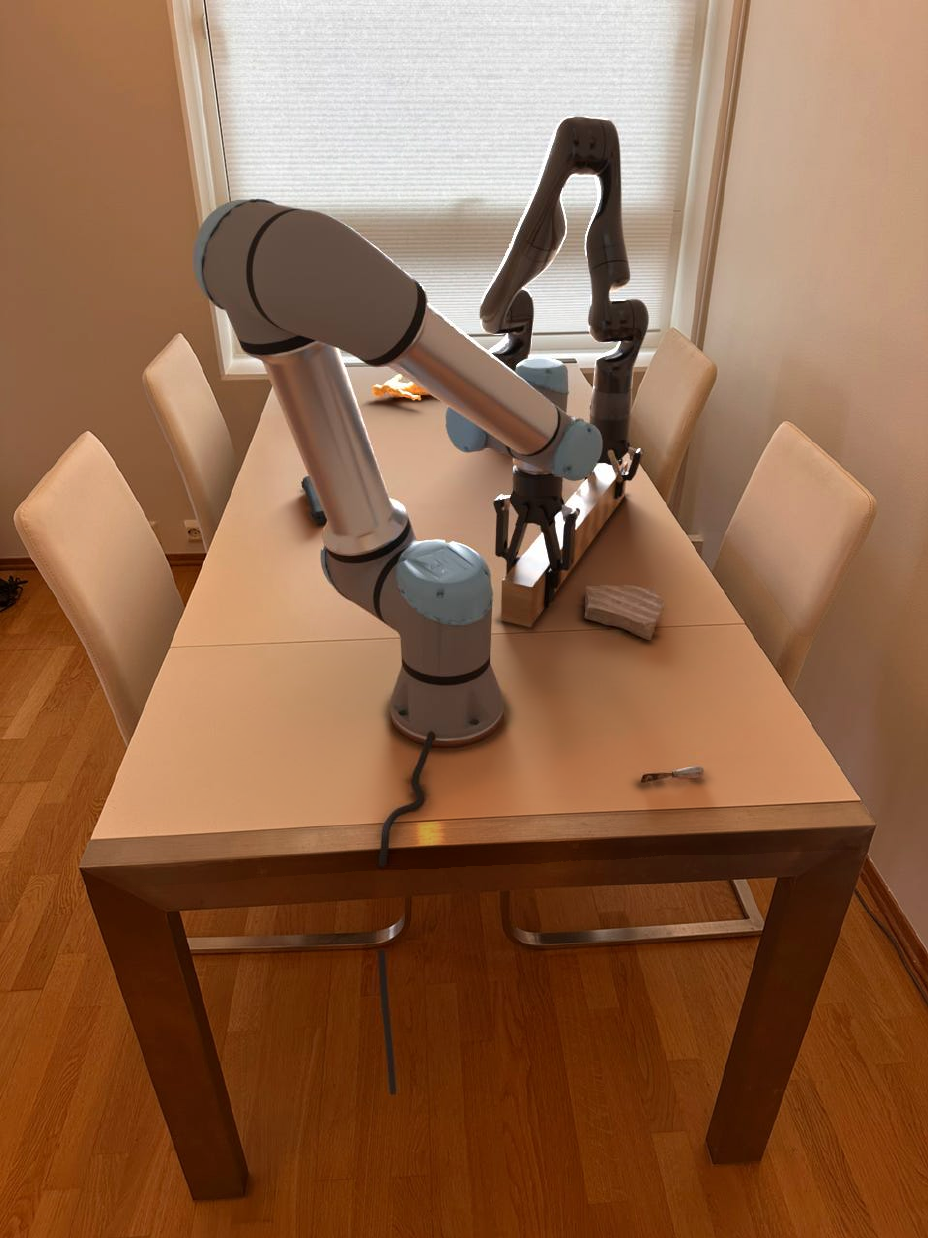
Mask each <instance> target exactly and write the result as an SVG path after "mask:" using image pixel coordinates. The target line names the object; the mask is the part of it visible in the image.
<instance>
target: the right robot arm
mask: <svg viewBox="0 0 928 1238" xmlns="http://www.w3.org/2000/svg"><path fill="white" fill-rule="evenodd" d="M620 144H621V143H620V137H619V133H618V129H617V127H616V125H615V123H613V121H612V120H610V119H607V118H603V117H589V116H567V117H564V118H563V119H562V120H560V122H559V123H558V124H557V126H556V128H555V130H554V131H553V134H552V136H551V139H550V142H549V145H548V148H547V151H546V154H545V157H544V160H543V163H542V167H541V169H540V173H539V176H538V179H537V182H536V184H535V187H534V190H533V191H532V195H531V196H530V200H529V201H528V204H527V206H526V207H525V210H524V213H523V215H522V217H521V218H520V221H519V223H518V226H517V228H516V230H515V232H514V235H513V238H512V241H511V243H510V244H509V248H508V249H507V251H506V253H505V256H504V258H503V260H502V262H501V264H500V266H499V268H498V270H497V272H496V273H495V276H493V279H492V281H491V282H490V284H489V286H488V287H487V289H486V291H485V292H484V295H483V297H482V299H481V302H480V305H479V307H480V308H479V314H478V315H479V322H480V326H481V328H482V330H483V331H485V332H486V333H487V334H489V335H495V336H498V335H504V338H502V340H500V342H498V343H497V344H495V345H494V346H493V347H491V348H489V350H487V351H488V352H490V353H491V354H492V355H493V356H495V357H496V358H497V359H498V360H500V361H501V362H502V363H503V364H505V365H506V366H507V367H508V368H510V369H511V370H512V371H513V372H515V373H516V366H517V365H518V364H519V363H520V362H521V361H523V360H525V359H530V355H531V352H532V344H533V330H534V321H535V307H534V300H533V297H532V294H531V293H530V291H529V290H528V289H527V288H525V287H527V286H528V285H529V284H530V283H532V282H533V281H534V280H536V279H537V278H538V277H539V276H540V275H541V274H542V273H543V272H545V271H546V270H547V269H548V268H549V267H550V265H552V263H553V261H554V260H555V258H556V256H557V255H558V253H559V251H560V249H561V247H562V244H563V242H564V240H565V238H566V236H567V228H568V227H567V219H566V214H565V209H564V206H563V201H562V194H563V191H564V189H565V186H566V184H567V182H568V181H569V180H570V178H572V177H594V179H595V184H596V189H597V201H596V206H595V208H594V212H593V214H592V216H591V220H590V222H589V225H588V228H587V231H586V234H585V241H584V244H585V245H584V251H585V258H586V264H587V270H588V275H589V280H590V281H589V283H590V291H589V292H590V293H589V307H588V314H587V328H588V332H589V334H590V336H591V337H592V339H593V340H594V341H595V342H597V343H599V344H611V343H617V345H616V347H614V348H613V349H612V350H610V351H606V352H605V353H601V354H600V355H599V356H598V357H596V360H595V362H594V363H595V364H594V373H593V386H592V392H591V396H590V404H589V422H588V423H589V424H592V425H594V426H595V427H596V428H597V429H598V430H599V432H600V434H601V437H602V453H601V456H600V459H599V460H598V462H597V464H596V466H598V465H599V464H603V463H605V464H607V465H612V468H613V471H614V472H615V475H616V479H617V481H616V486H615V496H614V499H617V500H618V499H619V498H620V497H621V496H622V495H623V493H624V487H625V481H626V482H627V481H628V482H631V481H633V479H634V478H635V476H636V475H637V472H638V469H639V466H640V464H641V460H642V458H643V455H644V453H645V452H644V449H643V448H641V447H640V448H635V447H632V446H631V444H630V441H629V435H630V424H631V415H632V405H633V382H634V381H633V380H634V370H635V365H636V363H637V359H638V357H639V354H640V351H641V349H642V346H643V343H644V340H645V338H646V335H647V332H648V329H649V323H650V315H649V311H648V308H647V306H646V304H645V303H644V302H643V301H642V300H640V299H638V298H626V299H625V298H624V299H617V300H616V299H614V300H613V299H612V300H611V298H610V293H613V292H616V291H619V290H622V289H623V288H624V287H626V286H627V285H628V284H630V281H631V269H630V263H629V257H628V251H627V246H626V241H625V234H624V226H623V212H622V211H623V208H622V206H623V205H622V203H623V202H622V198H623V197H622V195H623V194H622V163H621V162H622V160H621V146H620ZM627 454H628V456H629V460H630V461H631V462H630V466H629V469H628V470H627V472H625V468H624V457H625V456H626V455H627ZM595 468H596V467H595ZM595 468H594V470H595ZM594 470H593V471H594ZM593 471H592V472H593ZM592 472H591V473H592ZM591 473H590V474H591ZM590 474H589V475H588V476H587V477H585V478H584V481H583V483H584V482H585V480H586V479H587V478H588V477H589V476H590Z"/></svg>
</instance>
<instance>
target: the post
mask: <svg viewBox="0 0 928 1238" xmlns="http://www.w3.org/2000/svg"><path fill="white" fill-rule="evenodd" d="M623 461H624V460H623ZM628 466H629V461H624V468H625V472H628ZM616 481H617V479H616V475H615V472H614V471H613V468H612V465H607V464H605V463H603V464H599V463H598V464H597V465H596V467H595V469H594V471H593V472H592V473H591V474H590V476H589V477H588V478H587V479H586V480H585V482H584V481H583V482H582V484H581V485H580V486H579V487H578V488H577V490H576V491H575V492H574V493H573V494H572V496H571V497H570V498H569V499H568V500H567V502H566V503H564V504H565V505H566V506H568V507H570V508H572V509H574V508H575V507H577V508H579V509H580V514H579V516H578V518H577V520H576V531H575V549H574V562H573V564H572V565H571V567H570V568H569V569H568V570H567V571H565V570H561V583H560V584H559V586H558V587H557V589H554V595H555V594H556V592H557V591H558V589H560V587H561V585H562V584H563V583H564V581H565V580H566V579H567V577H568V575H569V574H570V573H571V571H572V570H573V569H574V567H575V566H576V564H577V563H578V561H579V560H580V559H581V557H582V556H583V555H584V553H585V552H586V550H587V549H588V547H589V546H590V545H591V543H592V542H593V540H594V539H595V538H596V536H597V535H598V533H599V532H600V530H601V529H602V528H603V527H604V525H605V524H606V522H607V521H608V519H610V517H611V515H612V514H613V513H614V511H615V510H616V508H617V507H618V505H620V503H621V502H622V500H623V499H624V497H625V496H626V487H627V481H625V487H624V493H623V495H622V496H621V497H620V498H619V499H618V500H617V499H614V496H615V486H616ZM562 516H563V515H562V513H561V512H559V513H558V514H557V515H556V516H555V521H556V525H555V527H556V532H557V537H558V542H559V546H560V551H561V556H562V548H563V528H564V524H565V522H564V521H563V519H562ZM549 566H550V564H549V559H548V554H547V550H546V545H545V540H544V536H543V533H542V532H541V533H540V535H538V537H537V538H536V539H535V541H534V542H532V544H531V545H530V547H529V548H528V549H527V550H526V551H525V552H524V553H523V554H522V555H521V557H520V560H519V561H518V562H517V563H516V564H515V566H514V567H513V568H512V569H511V570H510V572H509V573H508V574H507V575H506V574H505V576H504V578H503V579H502V580H501V600H500V601H501V602H500V621H502V622H505V623H510V624H514V625H519V626H523V627H526V628H531V627H532V626H533V625H534V623H535V622H536V620H537V619H538V618H539V616H540V615H541V613H542V612H543V610H544V609H545V608H546V607H544V597H545V577H546V570H547V569H548V568H549Z"/></svg>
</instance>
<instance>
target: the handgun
mask: <svg viewBox="0 0 928 1238" xmlns="http://www.w3.org/2000/svg"><path fill="white" fill-rule="evenodd" d="M300 484H301V488H302V489H303V490H304V493H305V497H306V499H307V503H308V506H309V509H310V512H311V514H309V518H310V519H313V521H314V523H316V524H317V525H323V524H326V523H327V522H328V521H327V519H326V516H325V514H324V511H323V509H322V507H321V504H320V502H319V499H318V497H317V494H316V492H315V489H314V487H313V485H312V482H311V480H310V477H309V475H306V476H304V477H303V478H302V480H301V481H300Z"/></svg>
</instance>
